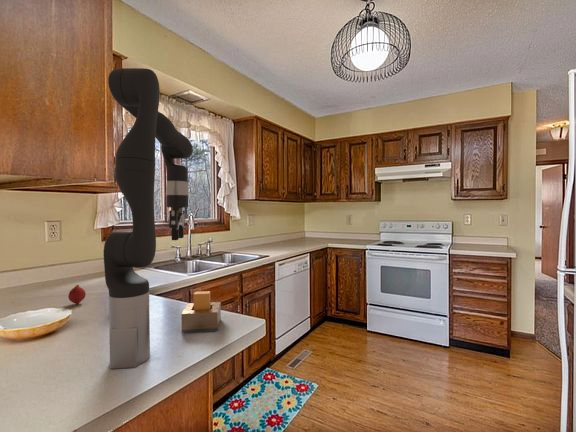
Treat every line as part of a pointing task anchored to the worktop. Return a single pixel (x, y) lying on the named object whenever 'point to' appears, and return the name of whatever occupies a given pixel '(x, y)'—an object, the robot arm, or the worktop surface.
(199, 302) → the orange stepped block
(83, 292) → the onion
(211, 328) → the base
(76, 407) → the worktop surface
